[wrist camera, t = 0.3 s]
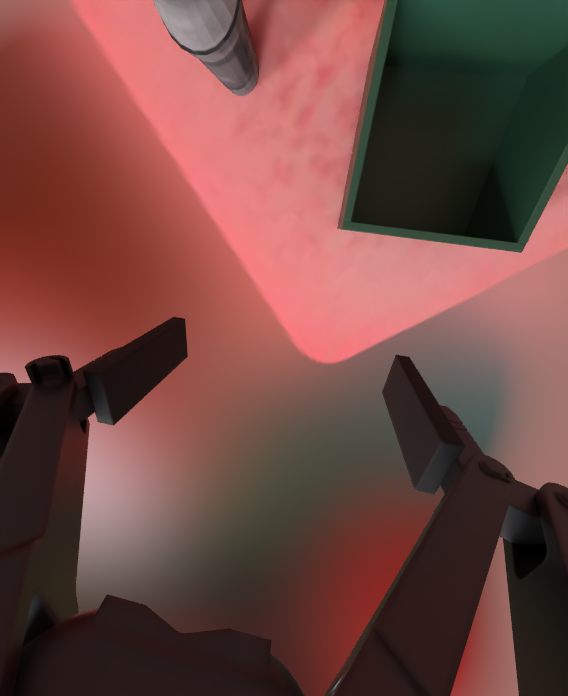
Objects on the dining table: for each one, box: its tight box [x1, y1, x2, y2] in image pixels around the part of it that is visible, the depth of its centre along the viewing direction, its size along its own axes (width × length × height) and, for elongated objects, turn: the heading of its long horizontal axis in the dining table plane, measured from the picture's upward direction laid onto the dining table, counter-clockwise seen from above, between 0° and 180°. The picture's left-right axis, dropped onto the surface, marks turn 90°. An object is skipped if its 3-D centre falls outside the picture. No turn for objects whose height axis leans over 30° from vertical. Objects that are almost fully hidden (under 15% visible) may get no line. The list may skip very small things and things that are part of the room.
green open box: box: [338, 0, 568, 253], centre depth 26 cm, size 18×18×12 cm
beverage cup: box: [154, 0, 259, 96], centre depth 22 cm, size 7×7×20 cm
